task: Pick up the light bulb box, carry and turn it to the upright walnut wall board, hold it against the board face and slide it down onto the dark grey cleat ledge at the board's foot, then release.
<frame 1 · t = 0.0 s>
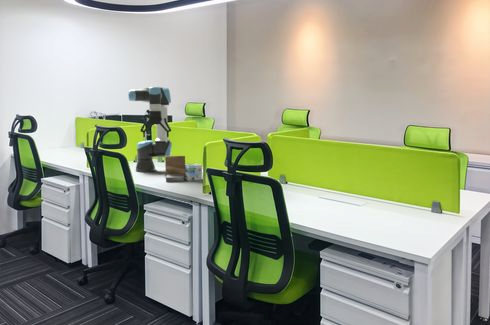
hand: (156, 142, 294), 28 cm above the table, fingers open, 13 cm apart
wall board: (175, 178, 315), on the table
light bulb box: (193, 179, 312), on the table
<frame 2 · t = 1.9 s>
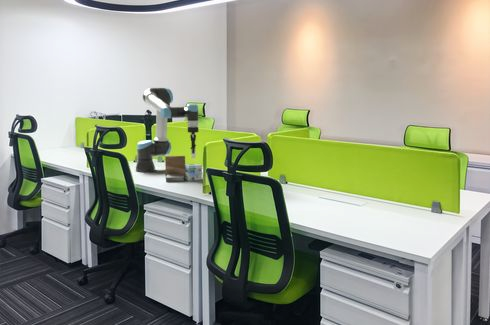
hand: (193, 156, 309), 16 cm above the table, fingers open, 13 cm apart
nothing on the table moved.
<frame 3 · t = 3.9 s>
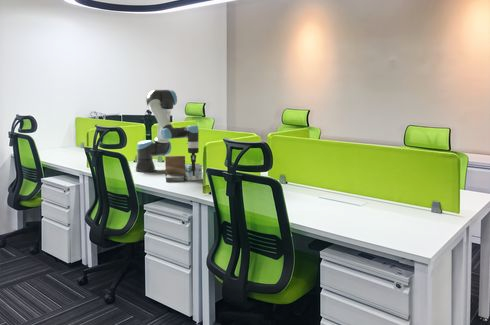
hand: (193, 178, 311), 0 cm above the table, fingers closed on light bulb box, 8 cm apart
light bulb box: (193, 179, 312), on the table, touching gripper
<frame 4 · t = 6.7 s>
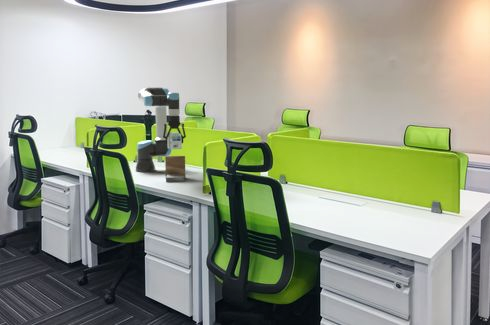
hand: (174, 147, 304), 23 cm above the table, fingers closed on light bulb box, 8 cm apart
light bulb box: (174, 148, 305), point 22 cm above the table, touching gripper
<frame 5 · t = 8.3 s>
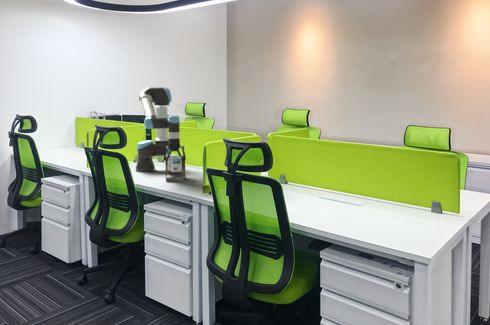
hand: (174, 170, 307), 7 cm above the table, fingers closed on light bulb box, 8 cm apart
light bulb box: (174, 170, 307), point 7 cm above the table, touching gripper
when the fingers open (5 cm above the table, at t = 9.5 s): light bulb box drops 1 cm, resting on wall board.
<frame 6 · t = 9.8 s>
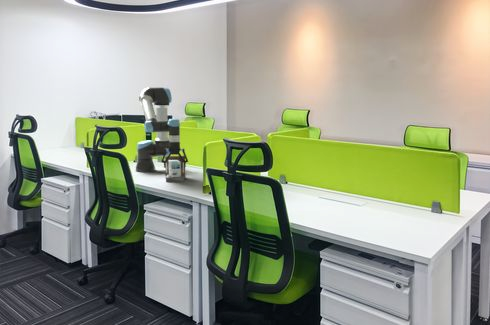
hand: (175, 172, 308), 6 cm above the table, fingers open, 11 cm apart
light bulb box: (174, 176, 309), point 3 cm above the table, touching wall board
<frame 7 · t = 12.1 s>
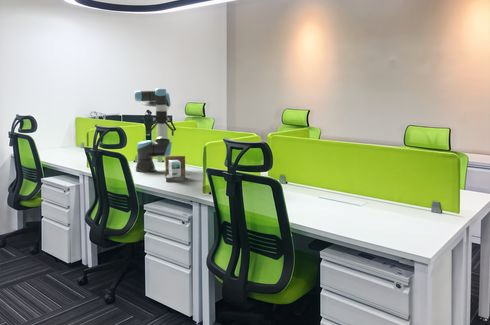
hand: (161, 140, 314), 27 cm above the table, fingers open, 13 cm apart
nothing on the table moved.
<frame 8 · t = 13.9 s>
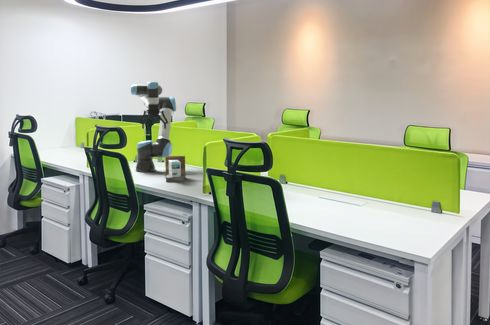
hand: (154, 133, 317), 32 cm above the table, fingers open, 13 cm apart
nothing on the table moved.
at the end: light bulb box inside the target area (0.3 cm from its centre), point 2.8 cm above the table; light bulb box tilted 0°; the gripper is holding nothing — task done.
